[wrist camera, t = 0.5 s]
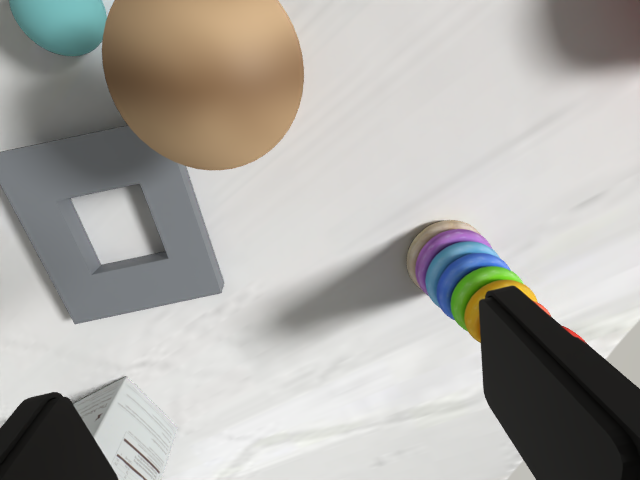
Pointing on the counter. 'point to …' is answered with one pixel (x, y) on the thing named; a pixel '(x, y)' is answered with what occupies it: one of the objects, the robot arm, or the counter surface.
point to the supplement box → (129, 430)
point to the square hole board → (71, 238)
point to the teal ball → (62, 24)
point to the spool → (204, 77)
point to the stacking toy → (460, 271)
